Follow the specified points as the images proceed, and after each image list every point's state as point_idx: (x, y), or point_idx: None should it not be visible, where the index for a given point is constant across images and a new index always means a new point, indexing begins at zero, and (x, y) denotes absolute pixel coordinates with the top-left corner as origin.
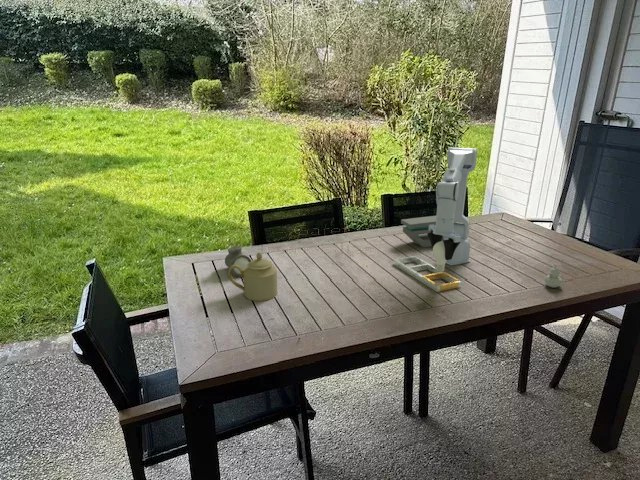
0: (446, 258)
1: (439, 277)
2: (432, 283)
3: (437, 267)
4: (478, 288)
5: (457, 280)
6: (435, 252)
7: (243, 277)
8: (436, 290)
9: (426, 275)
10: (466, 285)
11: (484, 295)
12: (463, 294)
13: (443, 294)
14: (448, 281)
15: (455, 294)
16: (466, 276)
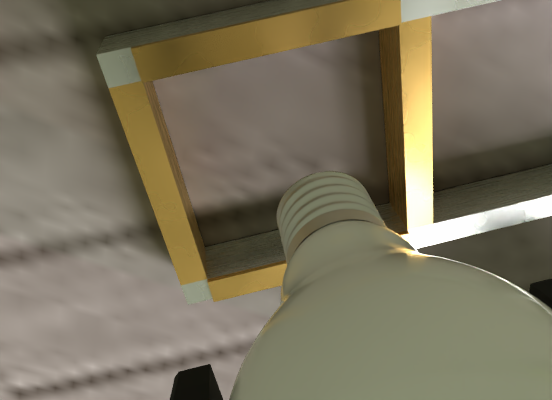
0: (170, 397)
1: (391, 184)
2: (190, 34)
3: (326, 195)
4: (144, 365)
5: (210, 287)
6: (371, 322)
7: None
8: (112, 37)
9: (415, 60)
10: (209, 315)
11: (18, 364)
12: (40, 244)
13: (46, 80)
14: None
15: (42, 185)
16: None
